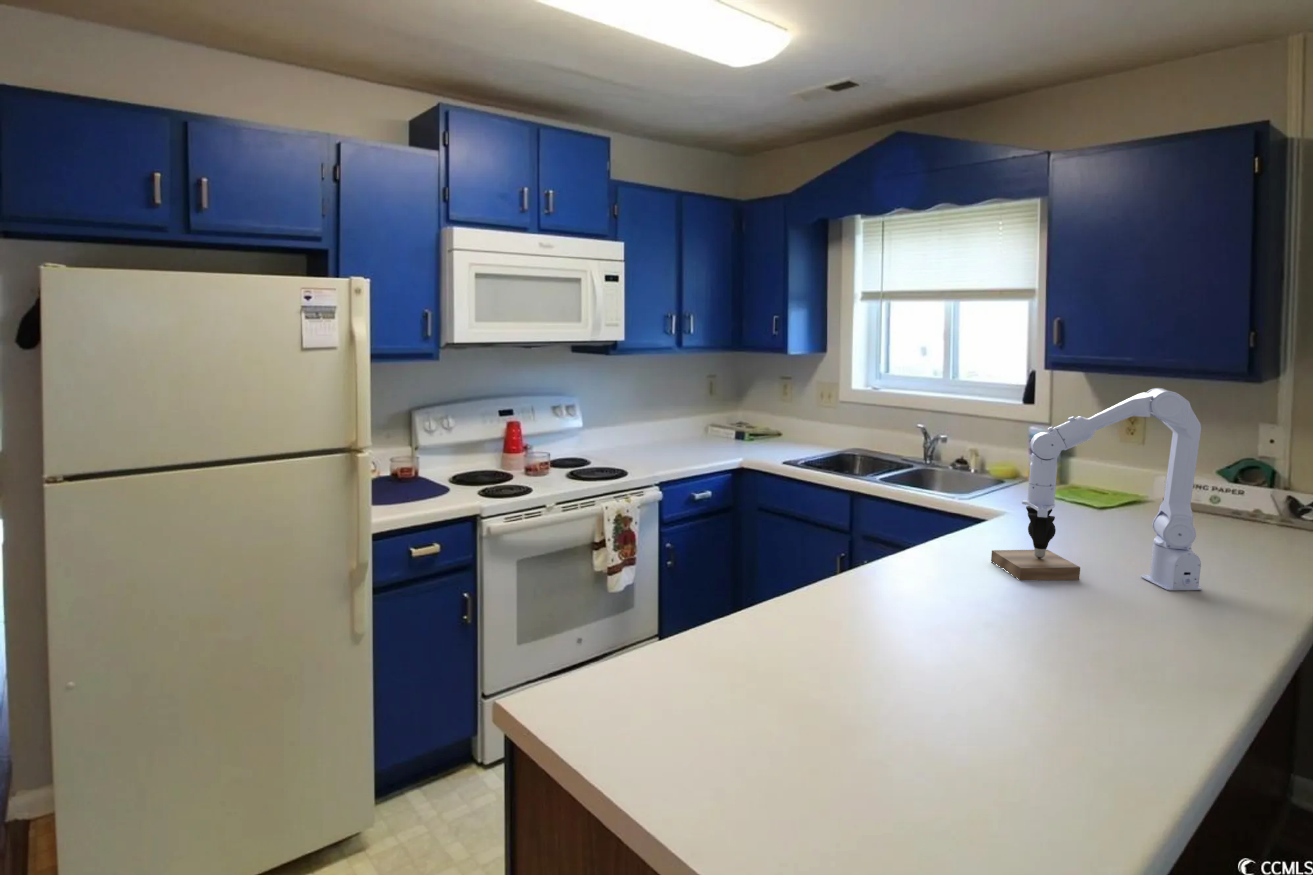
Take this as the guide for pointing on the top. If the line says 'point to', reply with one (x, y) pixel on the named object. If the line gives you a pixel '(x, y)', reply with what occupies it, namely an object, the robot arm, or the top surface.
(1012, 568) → the walnut plinth
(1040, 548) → the light bulb
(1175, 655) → the top surface
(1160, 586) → the robot arm
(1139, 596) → the top surface
